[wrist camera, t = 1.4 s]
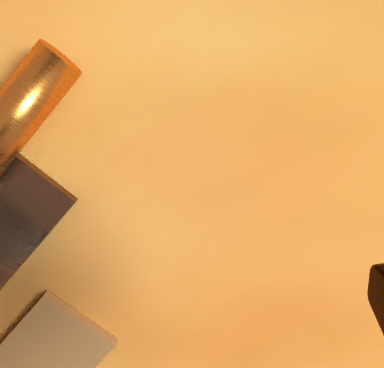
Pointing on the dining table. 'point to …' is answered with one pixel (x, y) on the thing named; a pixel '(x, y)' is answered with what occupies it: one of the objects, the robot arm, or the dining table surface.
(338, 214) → the dining table surface
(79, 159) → the dining table surface
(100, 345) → the mat
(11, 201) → the block
